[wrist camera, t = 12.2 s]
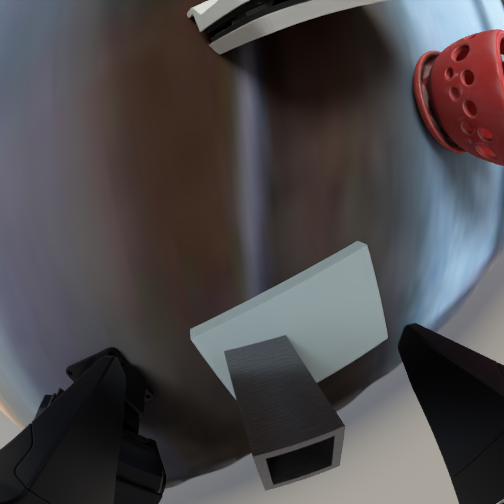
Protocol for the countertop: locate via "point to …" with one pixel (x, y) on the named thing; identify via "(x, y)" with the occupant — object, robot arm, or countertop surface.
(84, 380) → the robot arm
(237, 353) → the steel sleeve
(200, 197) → the countertop surface
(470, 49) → the plant pot
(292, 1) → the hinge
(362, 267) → the base plate
